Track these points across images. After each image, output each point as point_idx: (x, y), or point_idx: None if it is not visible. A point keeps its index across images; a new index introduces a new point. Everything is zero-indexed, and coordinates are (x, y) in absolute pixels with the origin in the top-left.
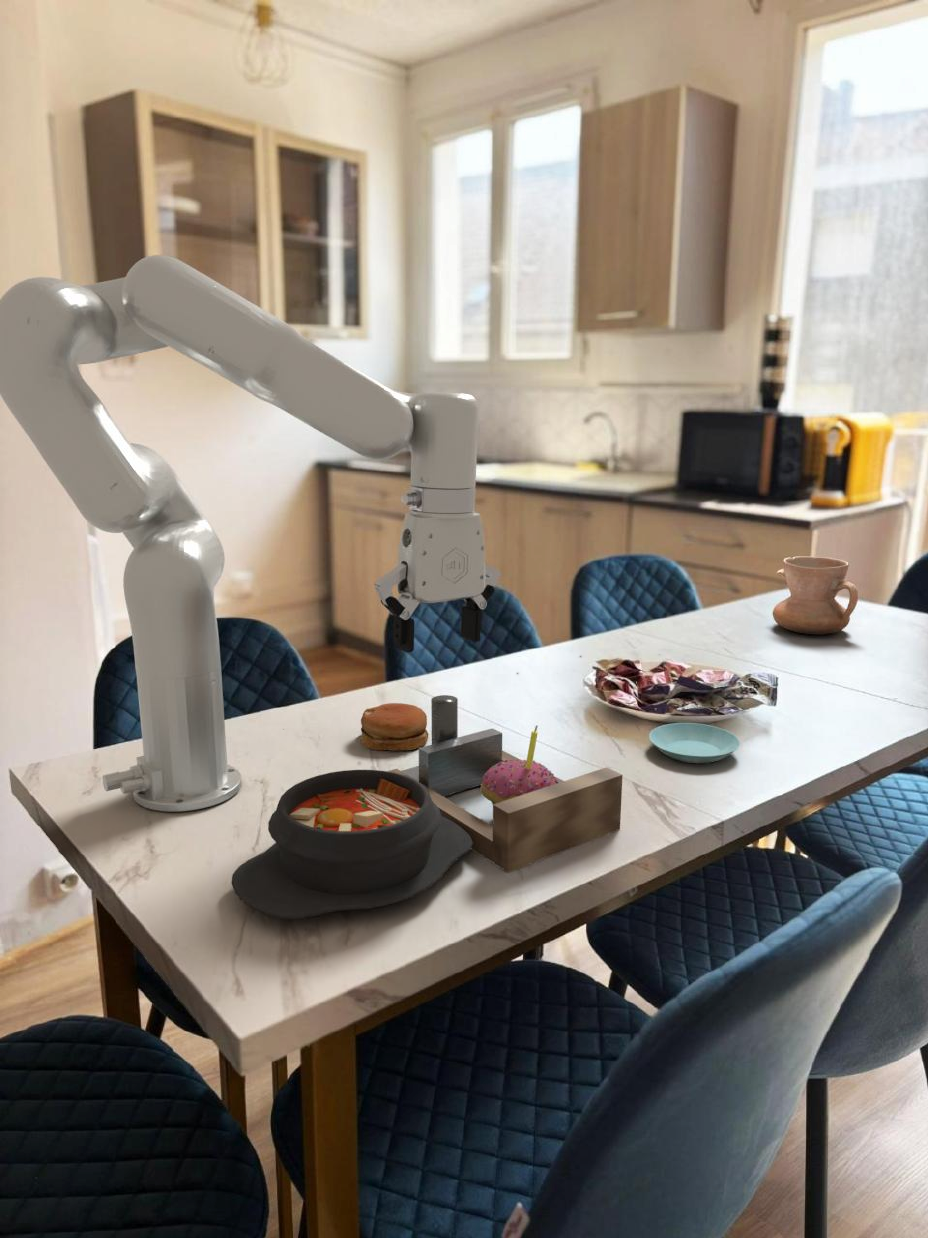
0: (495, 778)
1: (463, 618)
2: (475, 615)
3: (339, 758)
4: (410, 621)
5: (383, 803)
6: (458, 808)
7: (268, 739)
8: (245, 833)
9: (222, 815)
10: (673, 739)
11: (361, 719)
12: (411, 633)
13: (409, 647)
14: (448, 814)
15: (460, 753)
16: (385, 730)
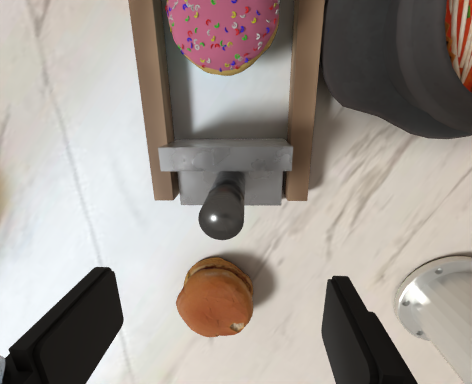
0: (266, 4)
1: (88, 365)
2: (52, 337)
3: (289, 281)
4: (396, 368)
5: (469, 20)
6: (300, 55)
7: (317, 349)
8: (469, 189)
9: (457, 236)
10: None
11: (249, 320)
12: (365, 319)
13: (351, 284)
14: (319, 50)
15: (235, 145)
16: (241, 286)
